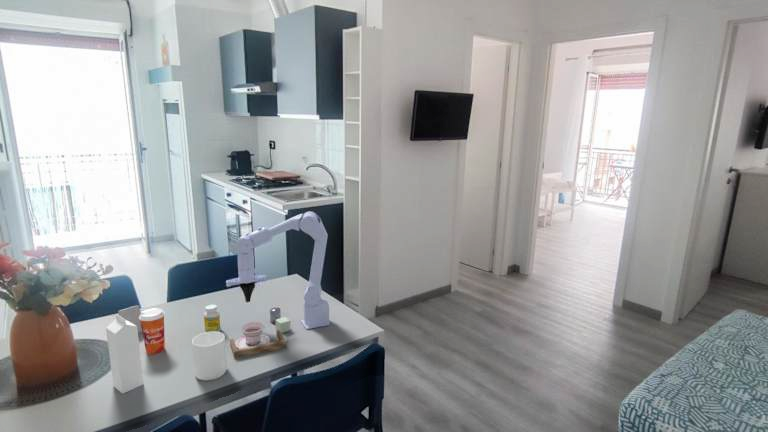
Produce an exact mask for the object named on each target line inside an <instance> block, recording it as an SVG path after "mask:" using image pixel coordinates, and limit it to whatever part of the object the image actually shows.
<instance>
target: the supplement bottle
mask: <svg viewBox="0 0 768 432" xmlns="http://www.w3.org/2000/svg"><path fill="white" fill-rule="evenodd" d="M204 309H205V312H204V314H203V319H204V331H205V332H212V331H216V332H220V330H221V320H220V318H221V316H220V311H219V310H218V306H217V305H216V304H209V305H206V306H205V308H204Z"/></svg>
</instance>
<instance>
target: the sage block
mask: <svg viewBox="0 0 768 432" xmlns="http://www.w3.org/2000/svg"><path fill="white" fill-rule="evenodd" d="M275 322H276V324H275V331H276V330H280V331H281V333H282V334H283V333H285V332H288V331H291V320H290V319H289V318H288V317H286V316H282V317H281V318H279V319H276V320H275Z"/></svg>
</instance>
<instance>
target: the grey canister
mask: <svg viewBox="0 0 768 432" xmlns="http://www.w3.org/2000/svg"><path fill="white" fill-rule="evenodd" d="M269 316H270V317H269V319H270V320H269V321H270V323H271V324H275V325H276V322H275V320H276V319H279V318H282V317H281V316H282V315H281V307H272V308H270V309H269Z"/></svg>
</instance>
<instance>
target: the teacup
mask: <svg viewBox="0 0 768 432" xmlns="http://www.w3.org/2000/svg"><path fill="white" fill-rule="evenodd" d="M264 328H265V324H263V323H262V322H259V321H250V322H246V323H244V324H242V325H241V326H240V331H241V332H242V333H243V335H242V336H240V337H239V338H238V339H237V340H236V341H234V342H235V345H236V348H237V349H242V348H247V347H252V346H257V345H261V344H266V343H271V338H270V336H268V335H266V334H262V332H263V330H264ZM248 344H249V345H248Z"/></svg>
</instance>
